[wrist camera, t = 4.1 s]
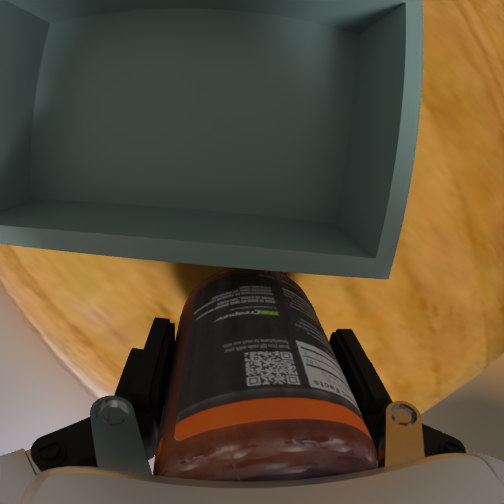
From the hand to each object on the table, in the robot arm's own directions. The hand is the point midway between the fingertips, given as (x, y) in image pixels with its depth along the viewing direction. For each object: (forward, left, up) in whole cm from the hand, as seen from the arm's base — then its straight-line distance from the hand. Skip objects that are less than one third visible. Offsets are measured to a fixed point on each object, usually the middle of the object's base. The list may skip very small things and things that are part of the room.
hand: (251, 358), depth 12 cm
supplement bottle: (0, 0, -3) cm, 3 cm away
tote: (-9, -4, -4) cm, 11 cm away
